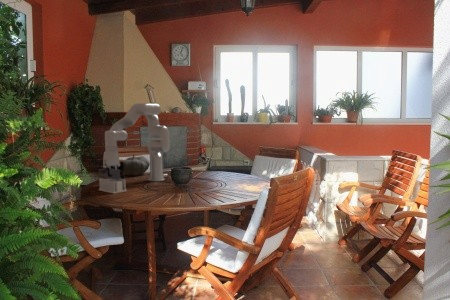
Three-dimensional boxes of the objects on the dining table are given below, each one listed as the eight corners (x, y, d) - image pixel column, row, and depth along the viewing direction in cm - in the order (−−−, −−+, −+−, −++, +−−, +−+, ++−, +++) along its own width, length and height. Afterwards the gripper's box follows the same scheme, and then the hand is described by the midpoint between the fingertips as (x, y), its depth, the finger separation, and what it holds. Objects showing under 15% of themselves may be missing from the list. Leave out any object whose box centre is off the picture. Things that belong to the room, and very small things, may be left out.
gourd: (152, 168, 360) (149, 150, 355) (149, 178, 336) (145, 158, 331) (124, 172, 359) (120, 153, 354) (118, 181, 335) (114, 161, 330)
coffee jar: (120, 186, 294) (119, 161, 292) (107, 185, 296) (106, 161, 294) (127, 183, 305) (126, 159, 303) (114, 183, 307) (113, 159, 305)
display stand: (111, 187, 288) (111, 176, 287) (126, 191, 276) (126, 179, 275) (98, 190, 280) (98, 178, 279) (113, 193, 268) (113, 181, 268)
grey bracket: (108, 176, 283) (108, 168, 282) (120, 178, 273) (119, 169, 273) (99, 178, 277) (98, 169, 277) (111, 180, 268) (110, 170, 267)
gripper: (118, 147, 284) (119, 174, 286) (97, 149, 272) (98, 177, 273) (124, 148, 279) (125, 175, 281) (103, 150, 267) (104, 178, 268)
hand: (112, 175), depth 277 cm, fingers closed on grey bracket, 3 cm apart
